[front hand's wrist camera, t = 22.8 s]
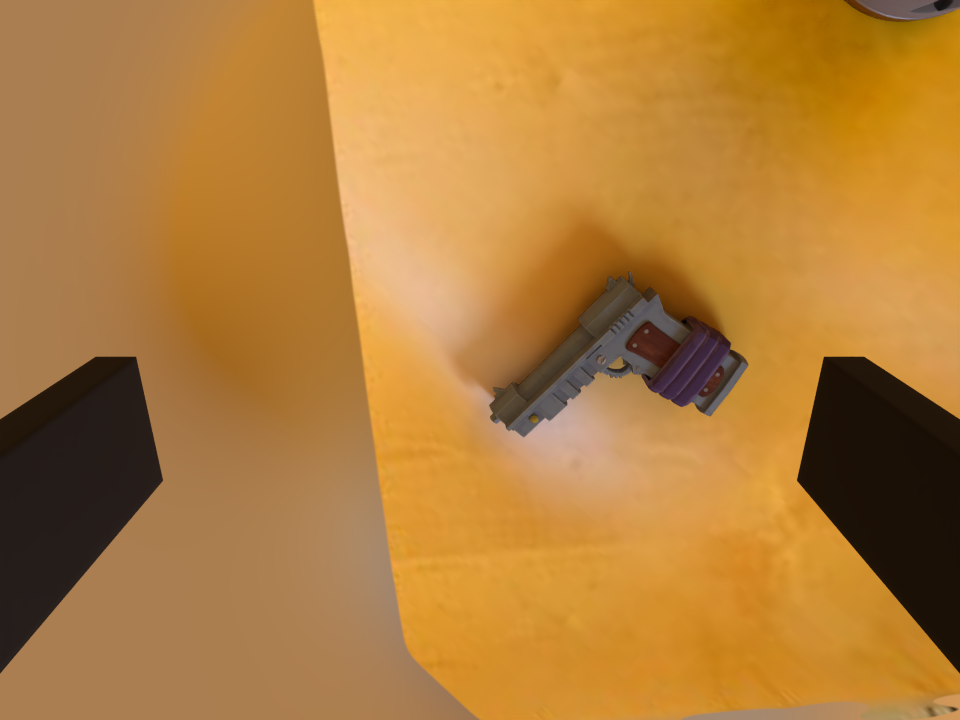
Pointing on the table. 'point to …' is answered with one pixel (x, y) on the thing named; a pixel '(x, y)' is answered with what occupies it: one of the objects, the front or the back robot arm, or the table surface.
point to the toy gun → (626, 359)
